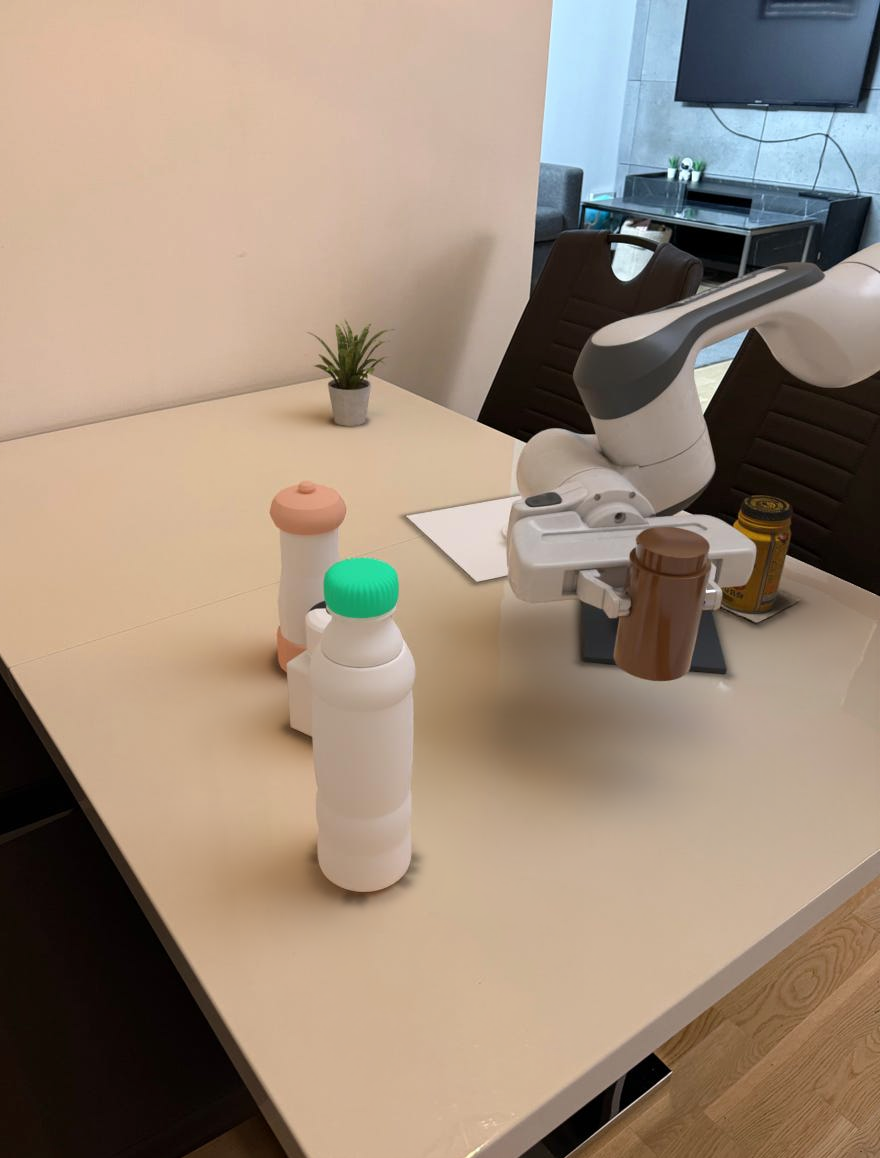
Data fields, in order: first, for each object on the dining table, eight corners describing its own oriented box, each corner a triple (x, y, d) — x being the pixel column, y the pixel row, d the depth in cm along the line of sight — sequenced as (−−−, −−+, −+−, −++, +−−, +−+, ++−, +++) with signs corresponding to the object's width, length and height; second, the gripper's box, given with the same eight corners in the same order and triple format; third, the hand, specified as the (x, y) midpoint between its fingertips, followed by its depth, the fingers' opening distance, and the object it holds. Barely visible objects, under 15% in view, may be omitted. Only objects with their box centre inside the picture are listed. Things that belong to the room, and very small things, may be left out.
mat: (708, 605, 106) (708, 600, 106) (725, 673, 94) (727, 668, 94) (581, 595, 108) (582, 590, 108) (583, 661, 96) (584, 656, 96)
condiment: (701, 598, 108) (721, 500, 101) (746, 577, 112) (768, 482, 106) (756, 624, 103) (780, 523, 96) (801, 602, 107) (827, 503, 101)
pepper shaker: (346, 637, 99) (342, 465, 89) (355, 676, 93) (352, 495, 83) (276, 643, 98) (264, 469, 88) (281, 682, 92) (268, 500, 82)
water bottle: (402, 903, 69) (407, 602, 55) (307, 889, 70) (290, 591, 56) (417, 835, 74) (425, 549, 61) (330, 824, 75) (319, 540, 62)
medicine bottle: (337, 691, 91) (334, 581, 85) (398, 717, 88) (399, 605, 81) (288, 728, 86) (281, 614, 80) (350, 757, 83) (347, 640, 76)
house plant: (417, 422, 158) (419, 321, 149) (357, 442, 149) (356, 337, 140) (357, 402, 166) (356, 306, 157) (297, 421, 157) (293, 320, 149)
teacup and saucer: (516, 554, 116) (518, 524, 114) (485, 528, 122) (487, 499, 120) (576, 542, 119) (580, 512, 117) (543, 517, 126) (546, 489, 123)
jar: (685, 643, 78) (709, 527, 72) (694, 684, 73) (721, 563, 67) (611, 637, 78) (629, 521, 73) (615, 677, 73) (635, 556, 68)
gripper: (705, 551, 87) (783, 629, 75) (489, 568, 84) (535, 652, 72) (719, 487, 83) (802, 559, 72) (493, 502, 80) (543, 579, 69)
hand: (666, 606), depth 72 cm, fingers closed on jar, 6 cm apart
